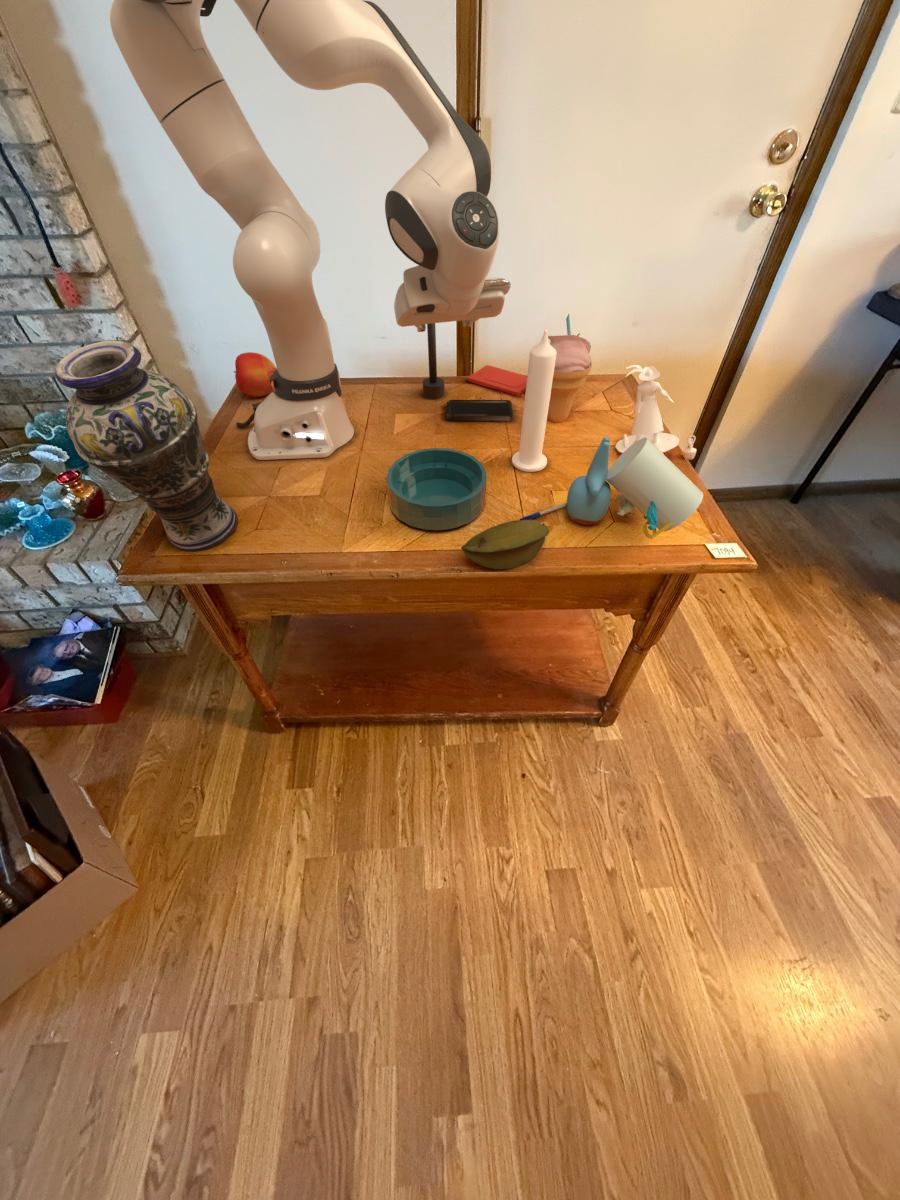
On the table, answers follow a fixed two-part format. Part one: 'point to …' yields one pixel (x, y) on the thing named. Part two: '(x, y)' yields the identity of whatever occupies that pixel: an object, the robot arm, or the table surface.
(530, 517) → the ballpoint pen
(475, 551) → the fruit
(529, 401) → the candle
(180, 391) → the vase
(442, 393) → the dark post on base
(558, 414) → the ice cream cone
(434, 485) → the bowl
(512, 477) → the table surface
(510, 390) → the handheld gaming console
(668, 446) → the figurine
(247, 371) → the apple
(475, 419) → the phone
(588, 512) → the toy
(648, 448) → the pale green cylinder
